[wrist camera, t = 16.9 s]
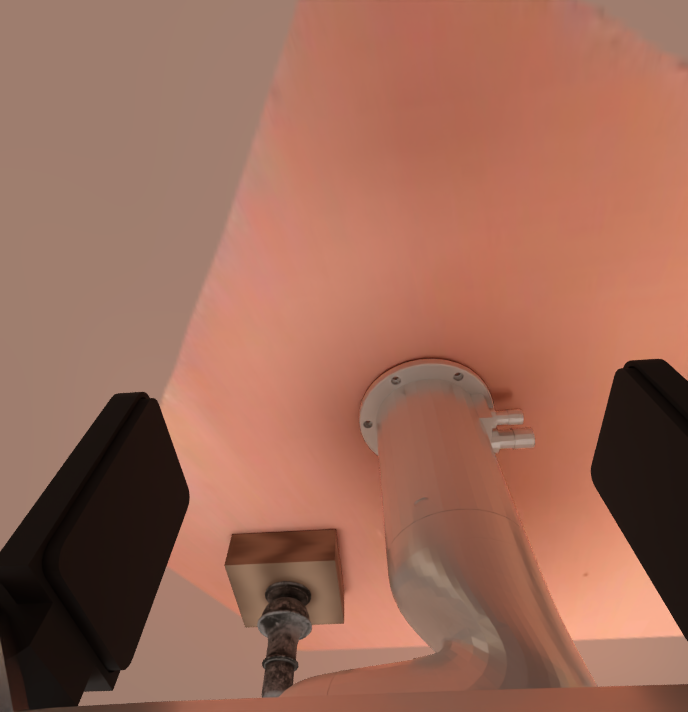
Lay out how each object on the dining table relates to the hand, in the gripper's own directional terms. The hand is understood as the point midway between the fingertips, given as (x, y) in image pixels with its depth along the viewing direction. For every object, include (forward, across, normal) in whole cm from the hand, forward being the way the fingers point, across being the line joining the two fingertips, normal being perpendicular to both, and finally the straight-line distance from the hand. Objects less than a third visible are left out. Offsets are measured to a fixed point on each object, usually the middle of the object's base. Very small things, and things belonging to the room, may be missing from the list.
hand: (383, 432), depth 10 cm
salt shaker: (+24, +11, +44) cm, 51 cm away
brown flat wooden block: (+28, +11, +44) cm, 53 cm away
